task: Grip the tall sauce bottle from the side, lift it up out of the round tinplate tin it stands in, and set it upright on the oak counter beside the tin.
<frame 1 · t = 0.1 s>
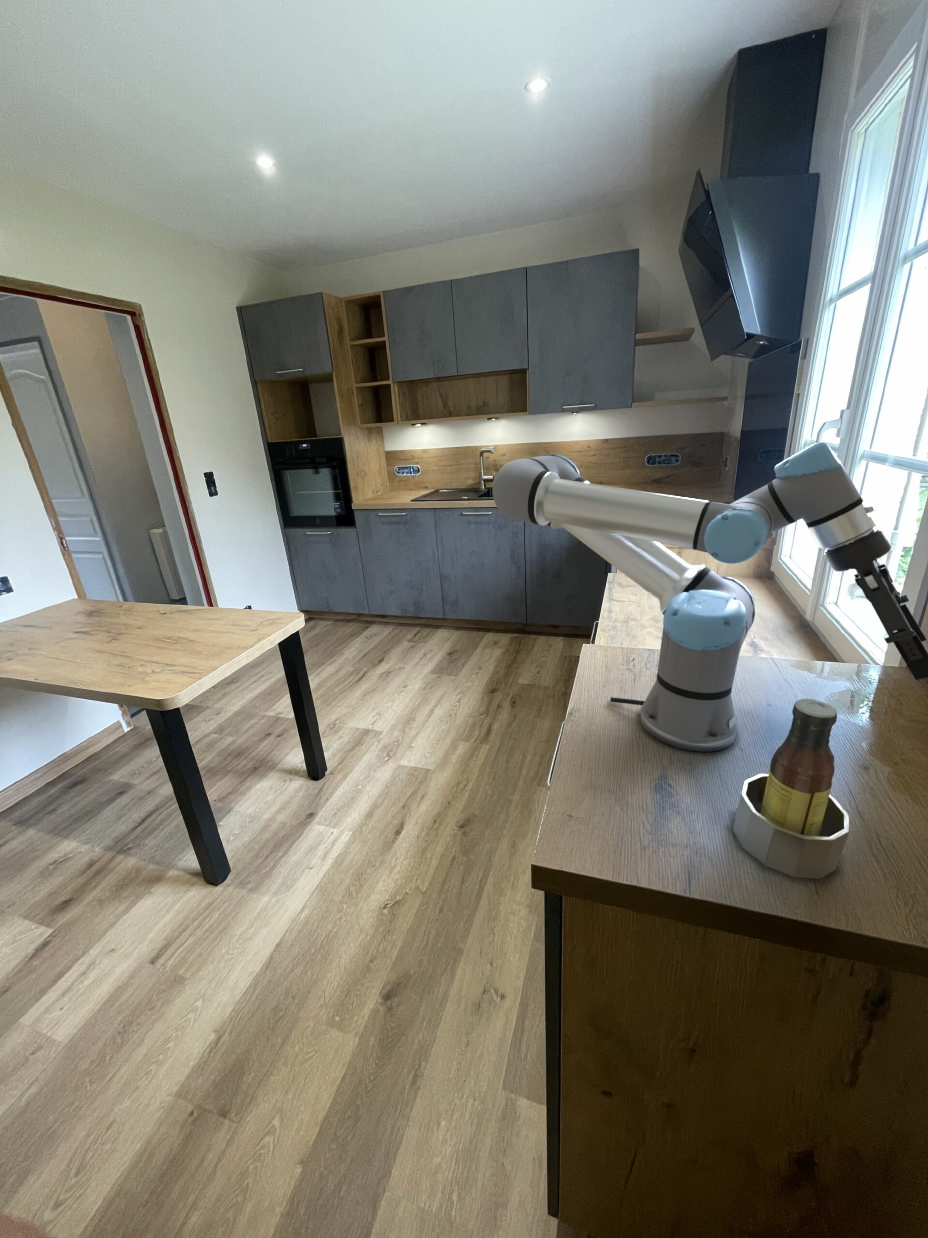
hand: (921, 658, 74), 15 cm above the countertop, tool tilted 35°, fingers open, 13 cm apart
sauce bottle: (782, 842, 62), resting in tin
tin: (782, 841, 62), on the countertop
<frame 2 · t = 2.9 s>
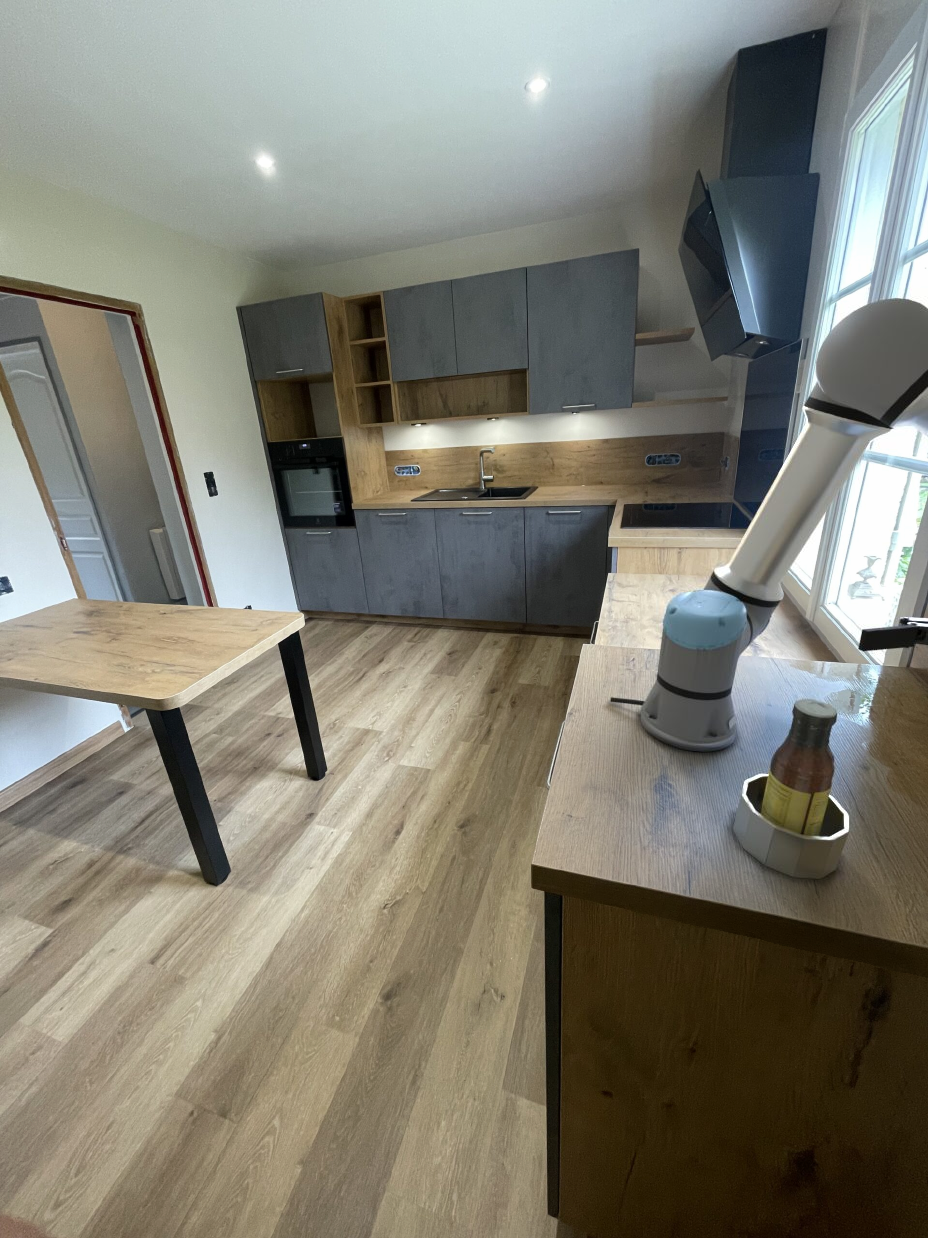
hand: (912, 662, 54), 24 cm above the countertop, tool horizontal, fingers open, 13 cm apart
nothing on the countertop moved.
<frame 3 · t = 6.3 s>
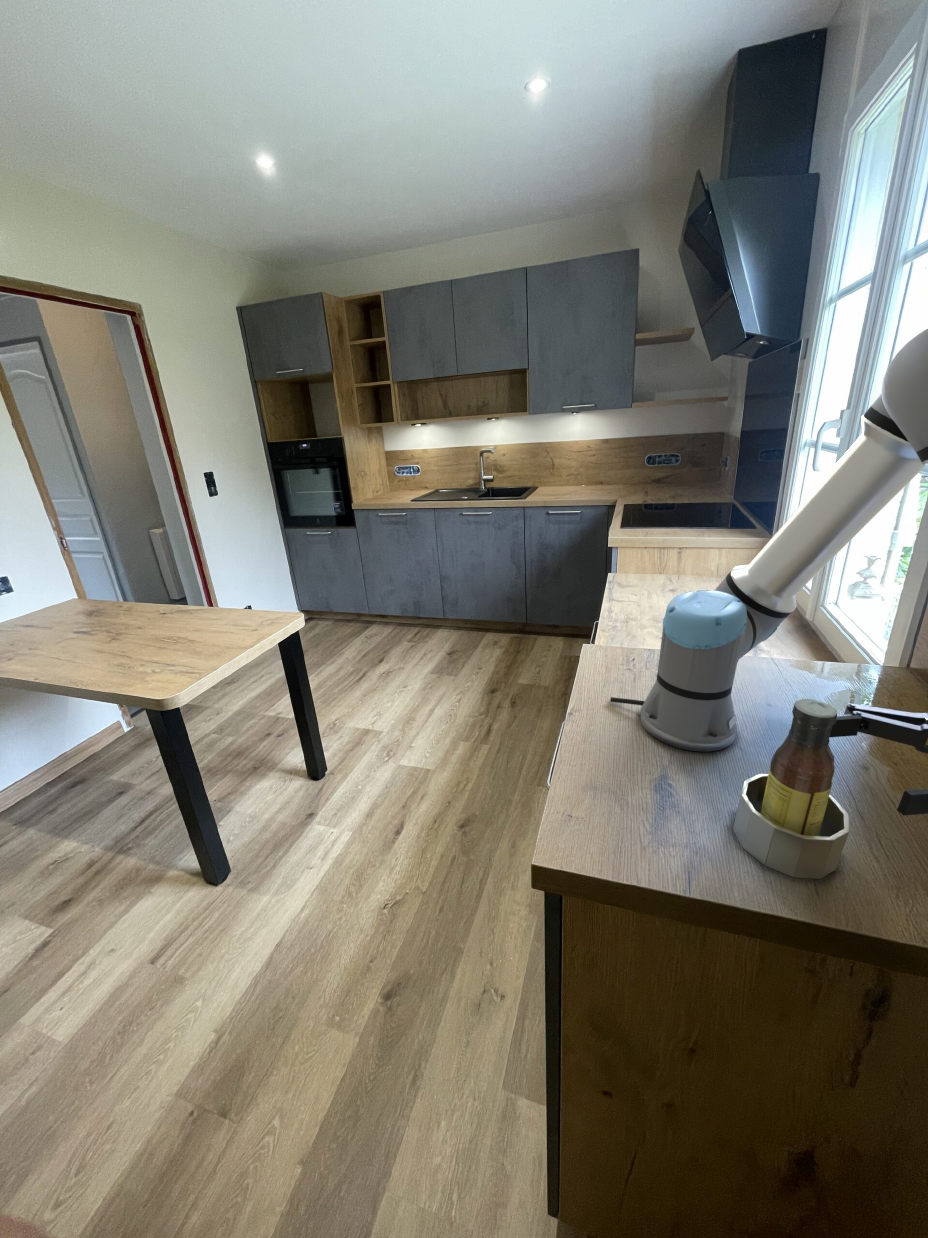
hand: (851, 761, 57), 12 cm above the countertop, tool horizontal, fingers open, 13 cm apart
nothing on the countertop moved.
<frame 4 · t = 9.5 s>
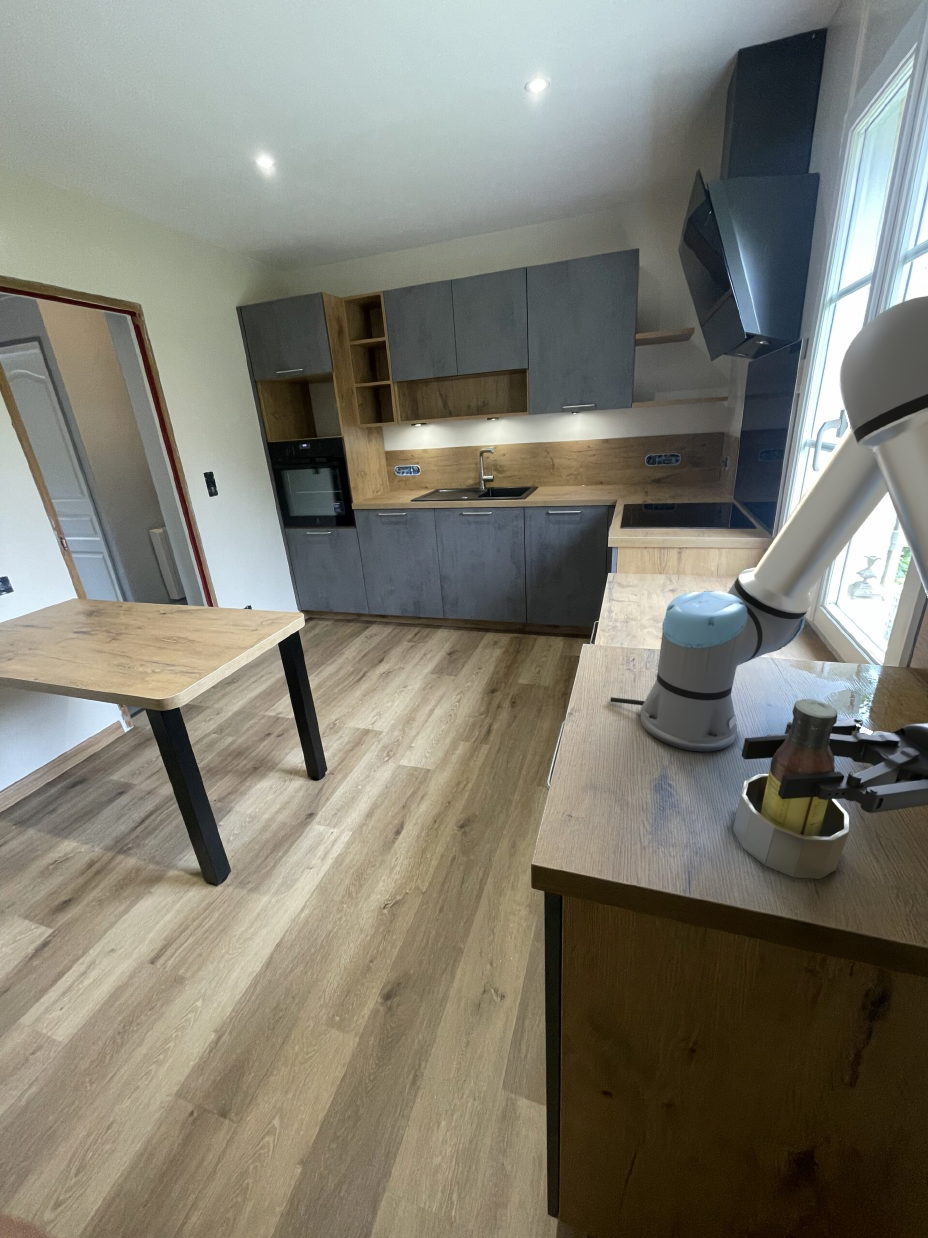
hand: (763, 767, 57), 12 cm above the countertop, tool horizontal, fingers closed on sauce bottle, 6 cm apart
sauce bottle: (782, 842, 62), resting in tin, touching gripper
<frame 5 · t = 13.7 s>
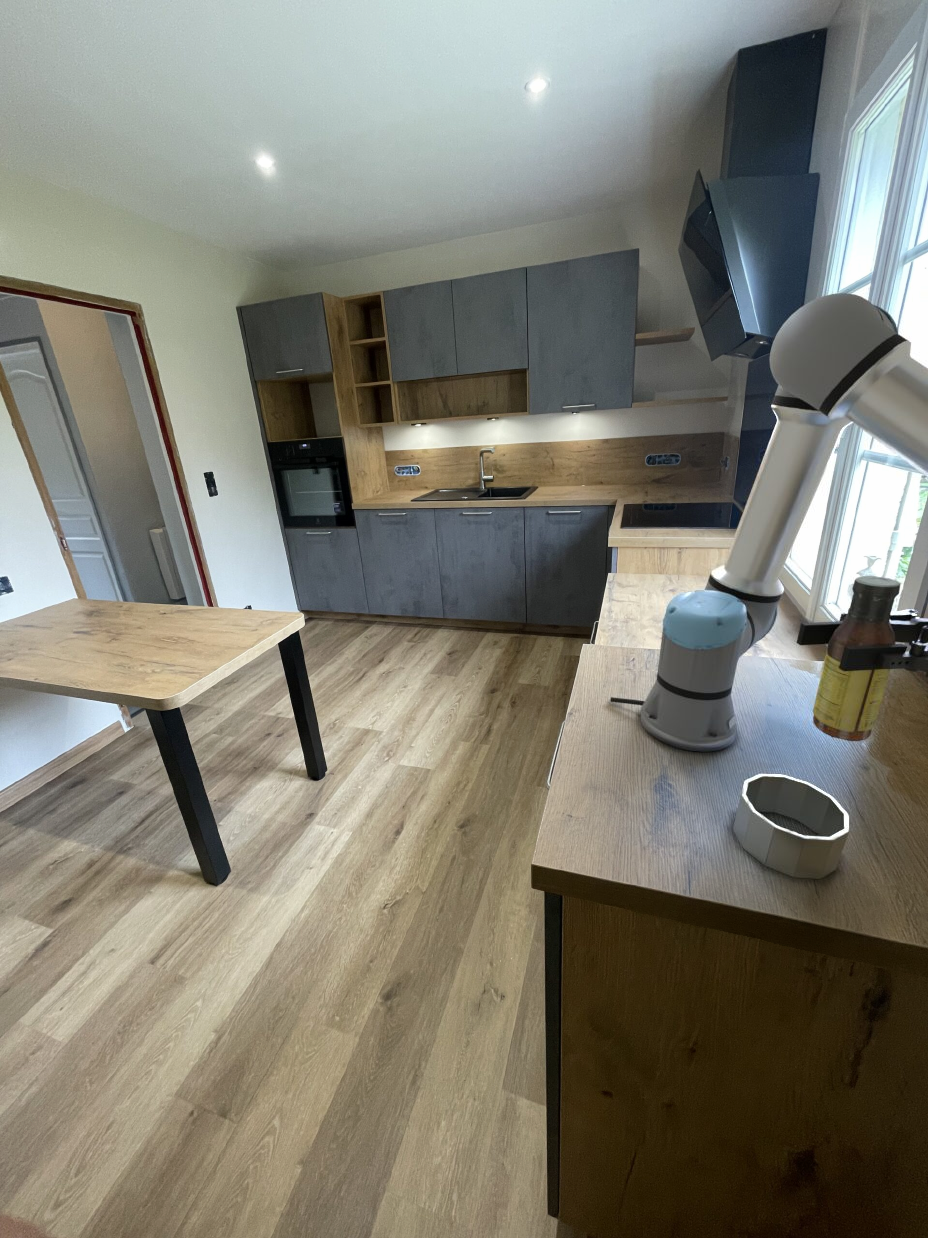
hand: (821, 646, 57), 25 cm above the countertop, tool horizontal, fingers closed on sauce bottle, 6 cm apart
sauce bottle: (837, 730, 62), point 13 cm above the countertop, touching gripper
when the fingers open (12 cm above the countertop, at t = 18.3 s): sauce bottle stays where it is, on the countertop.
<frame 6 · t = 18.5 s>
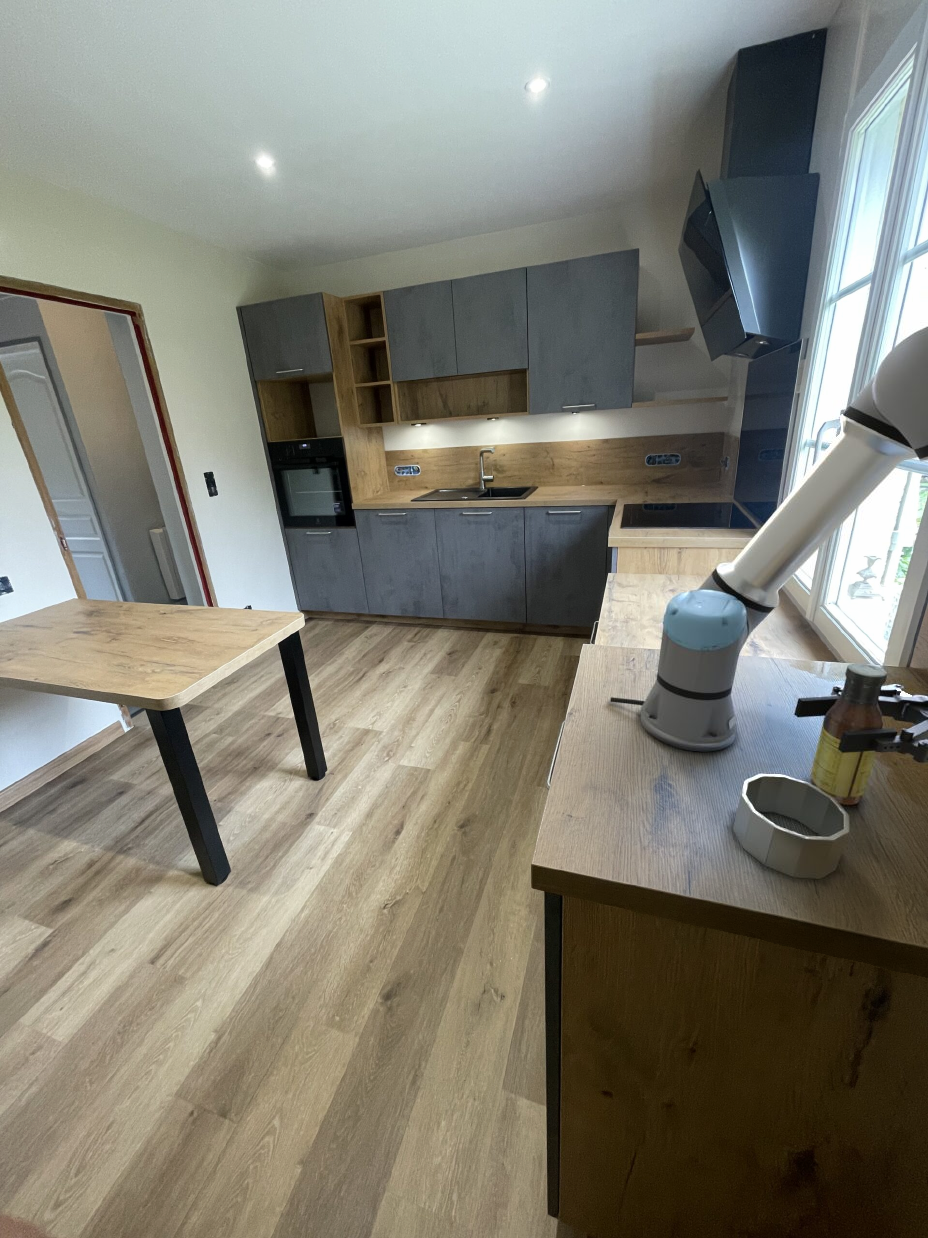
hand: (819, 724, 65), 12 cm above the countertop, tool horizontal, fingers open, 7 cm apart
sauce bottle: (832, 793, 69), on the countertop
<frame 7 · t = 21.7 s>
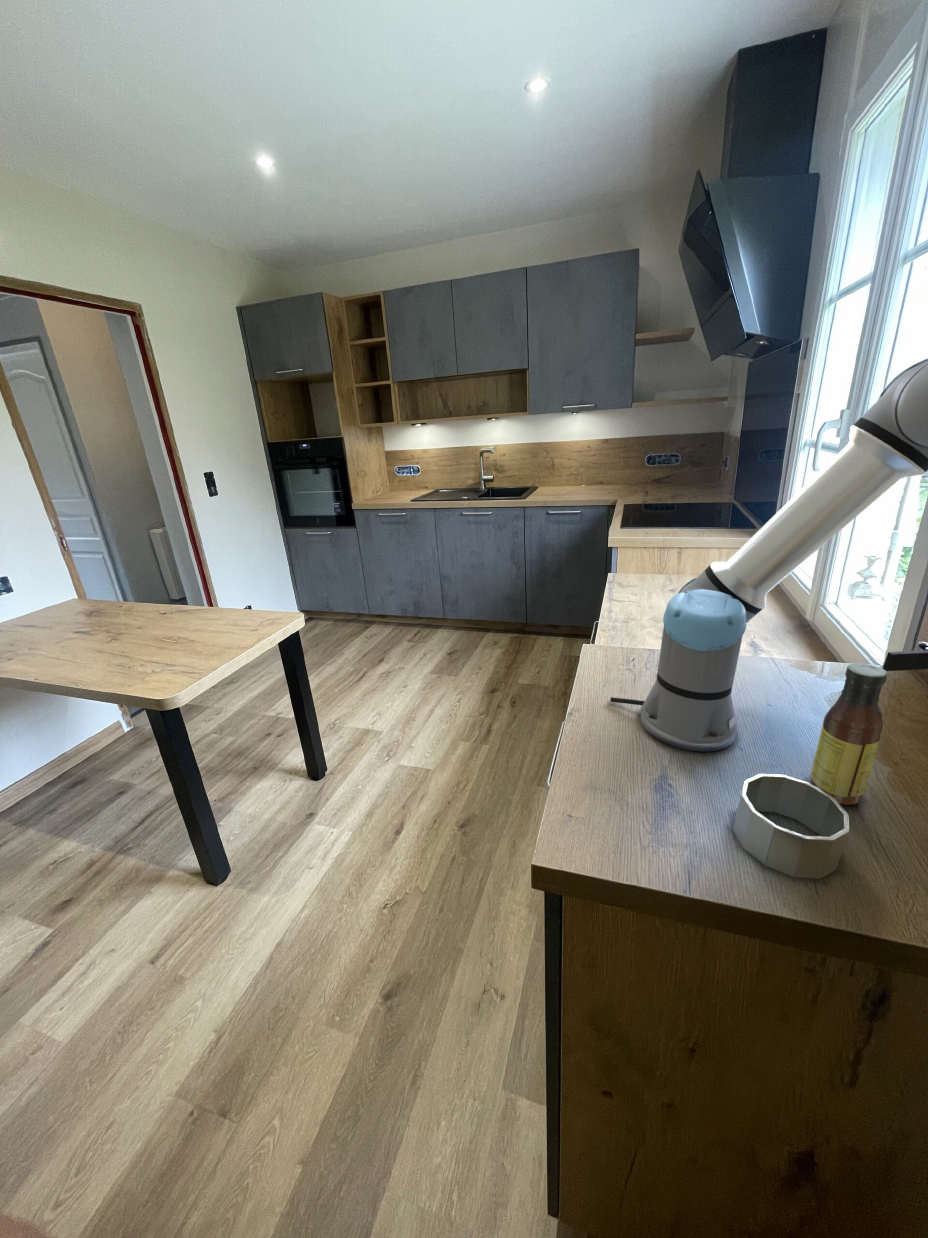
nothing on the countertop moved.
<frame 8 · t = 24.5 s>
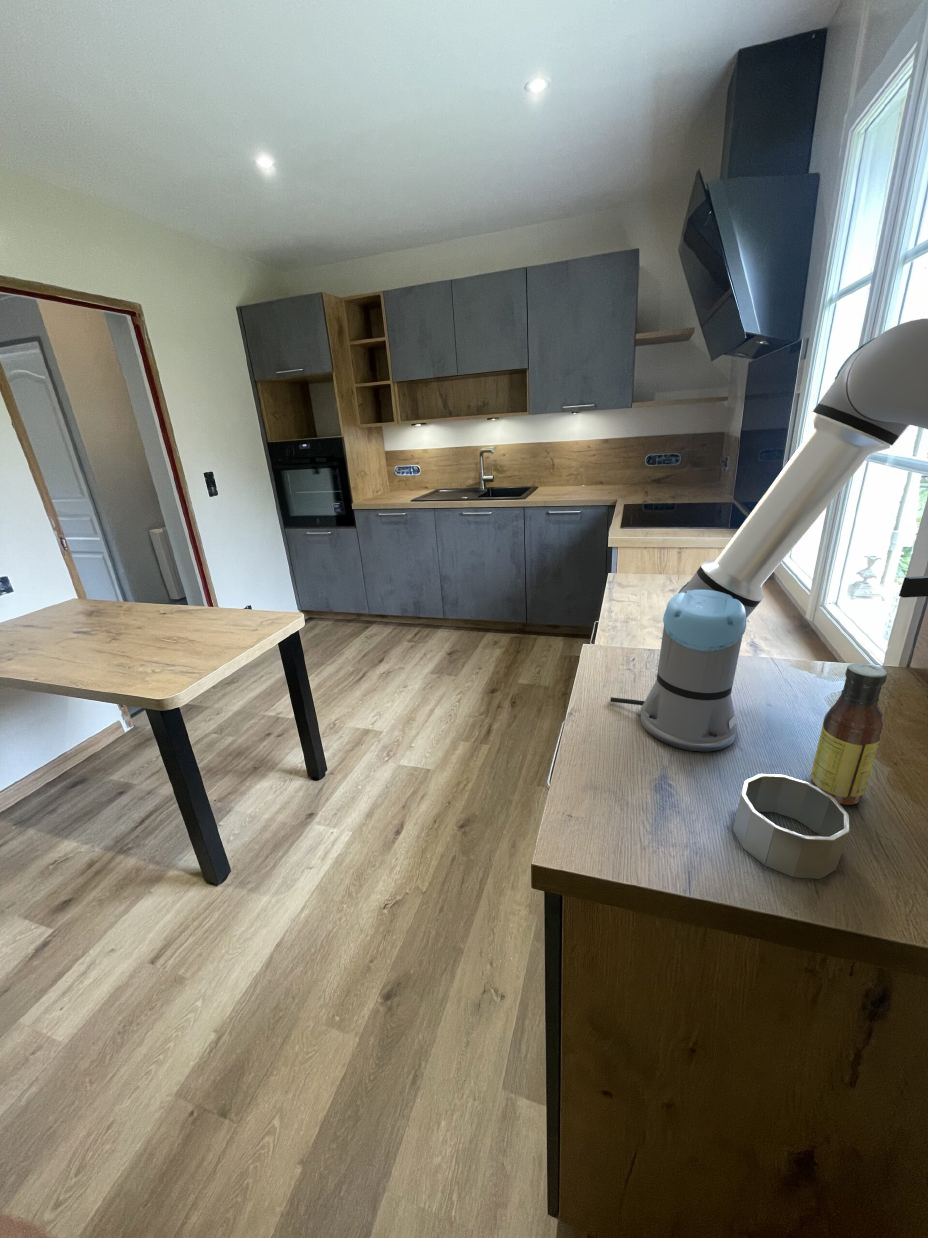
nothing on the countertop moved.
at the end: sauce bottle inside the target area (0.1 cm from its centre), on the countertop; sauce bottle tilted 0°; the gripper is holding nothing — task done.
